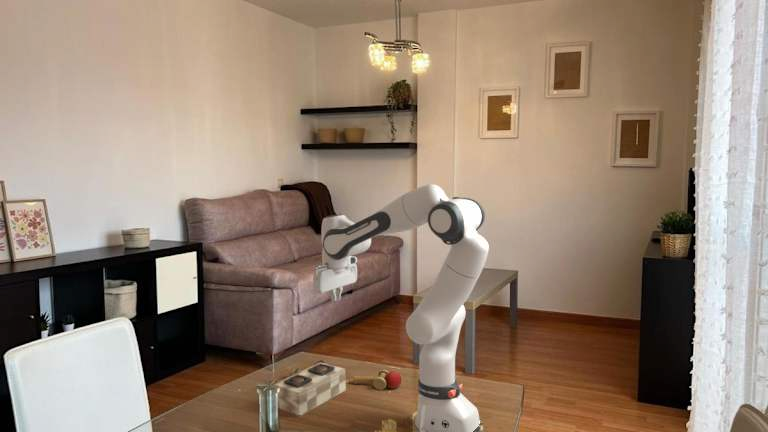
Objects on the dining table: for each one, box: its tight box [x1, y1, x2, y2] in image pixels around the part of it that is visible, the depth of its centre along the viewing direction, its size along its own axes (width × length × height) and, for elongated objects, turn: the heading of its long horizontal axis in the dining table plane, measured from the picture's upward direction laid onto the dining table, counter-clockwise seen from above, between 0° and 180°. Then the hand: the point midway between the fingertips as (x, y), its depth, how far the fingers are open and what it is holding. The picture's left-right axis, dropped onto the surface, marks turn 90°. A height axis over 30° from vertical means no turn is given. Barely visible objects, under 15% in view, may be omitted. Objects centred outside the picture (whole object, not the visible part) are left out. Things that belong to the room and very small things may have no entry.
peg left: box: [292, 377, 304, 383], centre depth 194 cm, size 4×4×8 cm
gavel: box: [288, 359, 326, 377], centre depth 224 cm, size 21×5×10 cm
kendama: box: [352, 369, 402, 391], centre depth 209 cm, size 8×6×18 cm
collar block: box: [272, 362, 347, 416], centre depth 199 cm, size 12×24×9 cm, turn 145°
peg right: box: [316, 366, 327, 371], centre depth 204 cm, size 4×4×8 cm
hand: (336, 300), depth 199 cm, fingers closed
